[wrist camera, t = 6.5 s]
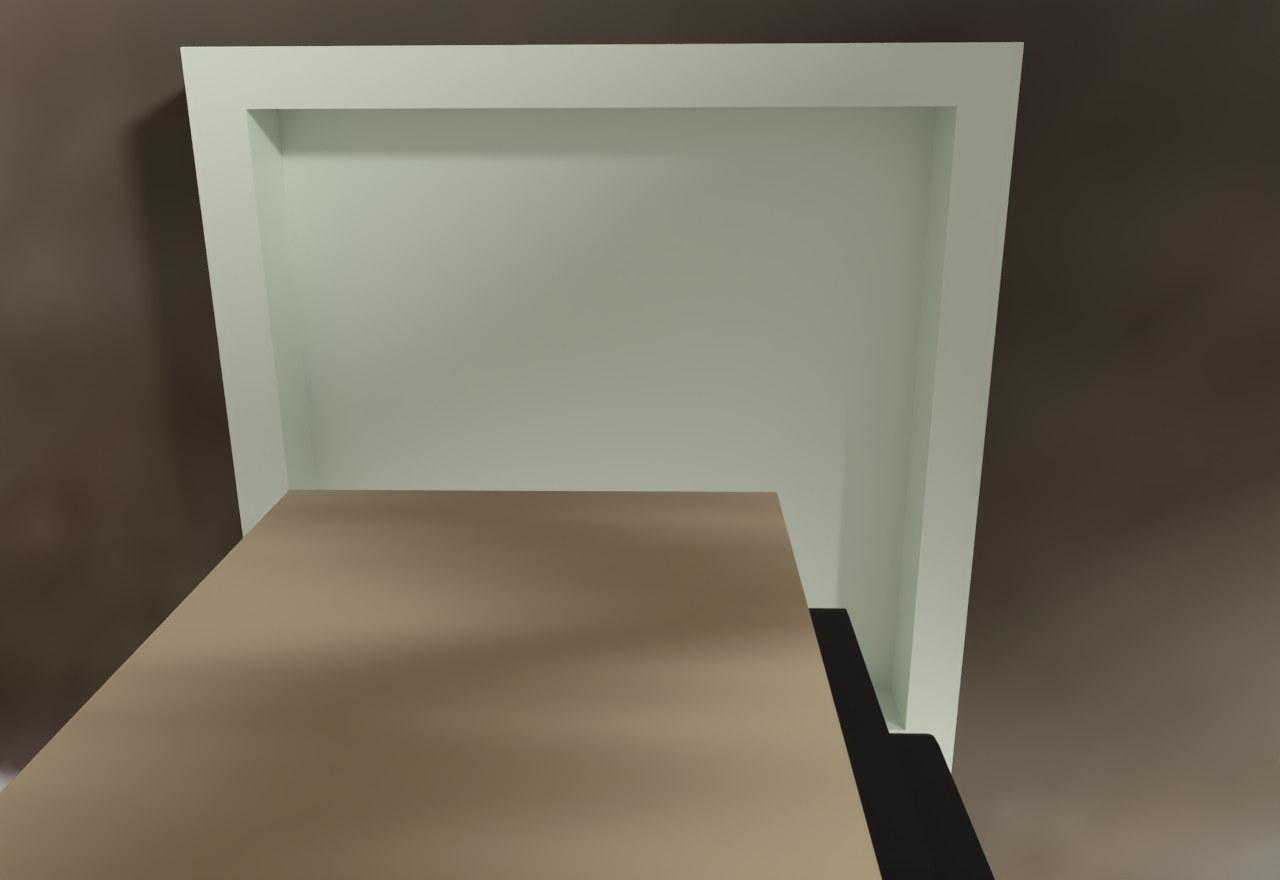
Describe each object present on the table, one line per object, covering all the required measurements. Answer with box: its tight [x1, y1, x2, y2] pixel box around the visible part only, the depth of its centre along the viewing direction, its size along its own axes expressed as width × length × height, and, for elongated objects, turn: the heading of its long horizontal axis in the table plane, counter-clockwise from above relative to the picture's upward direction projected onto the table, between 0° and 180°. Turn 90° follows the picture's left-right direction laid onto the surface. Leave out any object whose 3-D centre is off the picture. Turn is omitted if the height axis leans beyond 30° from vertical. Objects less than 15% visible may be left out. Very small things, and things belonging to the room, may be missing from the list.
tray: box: [180, 42, 1024, 773], centre depth 21 cm, size 14×14×2 cm
